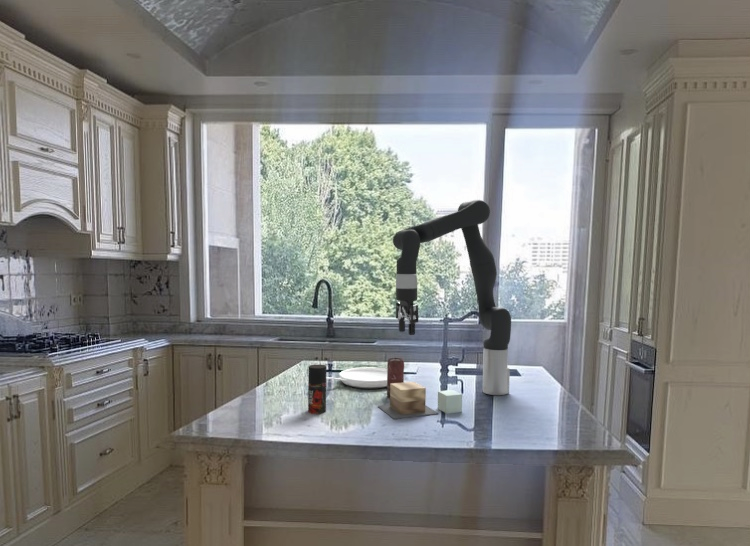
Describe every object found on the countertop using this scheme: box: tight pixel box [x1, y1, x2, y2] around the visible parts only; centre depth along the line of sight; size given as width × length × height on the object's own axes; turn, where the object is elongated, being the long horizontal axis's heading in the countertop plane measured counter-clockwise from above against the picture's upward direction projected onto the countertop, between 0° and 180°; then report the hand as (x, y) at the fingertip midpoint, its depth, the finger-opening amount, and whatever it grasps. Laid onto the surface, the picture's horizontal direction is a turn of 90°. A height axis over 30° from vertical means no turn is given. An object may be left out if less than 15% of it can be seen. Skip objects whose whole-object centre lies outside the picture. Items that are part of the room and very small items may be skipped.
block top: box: [390, 381, 427, 402], centre depth 161 cm, size 9×9×4 cm
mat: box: [377, 404, 439, 420], centre depth 161 cm, size 16×14×1 cm
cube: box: [437, 389, 463, 414], centre depth 162 cm, size 6×6×6 cm
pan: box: [326, 366, 387, 390], centre depth 195 cm, size 25×38×5 cm, turn 124°
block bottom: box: [389, 395, 427, 415], centre depth 161 cm, size 9×9×4 cm
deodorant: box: [307, 364, 327, 415], centre depth 159 cm, size 6×6×15 cm
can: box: [386, 357, 405, 399], centre depth 178 cm, size 6×6×14 cm
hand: (406, 333), depth 167 cm, fingers open, 8 cm apart
